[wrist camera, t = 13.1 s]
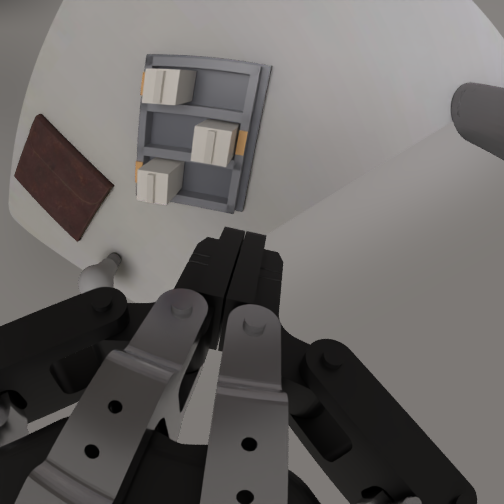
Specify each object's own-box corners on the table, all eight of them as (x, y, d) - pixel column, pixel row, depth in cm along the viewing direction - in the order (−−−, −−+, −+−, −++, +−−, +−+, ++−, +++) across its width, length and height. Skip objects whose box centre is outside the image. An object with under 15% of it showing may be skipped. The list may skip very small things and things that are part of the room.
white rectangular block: (240, 123, 33) (230, 132, 28) (235, 153, 35) (224, 168, 30) (208, 118, 33) (193, 126, 28) (204, 148, 35) (188, 162, 30)
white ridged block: (196, 71, 30) (178, 69, 24) (192, 101, 32) (173, 105, 27) (166, 69, 30) (143, 68, 24) (162, 98, 32) (139, 103, 27)
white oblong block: (184, 160, 36) (166, 176, 31) (182, 187, 39) (164, 207, 33) (157, 155, 36) (135, 171, 31) (155, 182, 39) (134, 202, 33)
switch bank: (271, 66, 30) (270, 64, 27) (243, 208, 41) (239, 219, 38) (150, 54, 30) (138, 53, 27) (139, 188, 41) (129, 197, 38)
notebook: (81, 238, 48) (75, 244, 46) (18, 174, 42) (12, 178, 40) (115, 183, 41) (109, 188, 40) (43, 112, 35) (35, 115, 33)
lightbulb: (118, 237, 46) (86, 276, 37) (137, 265, 49) (110, 307, 40) (97, 248, 48) (65, 285, 39) (115, 273, 51) (87, 313, 42)
